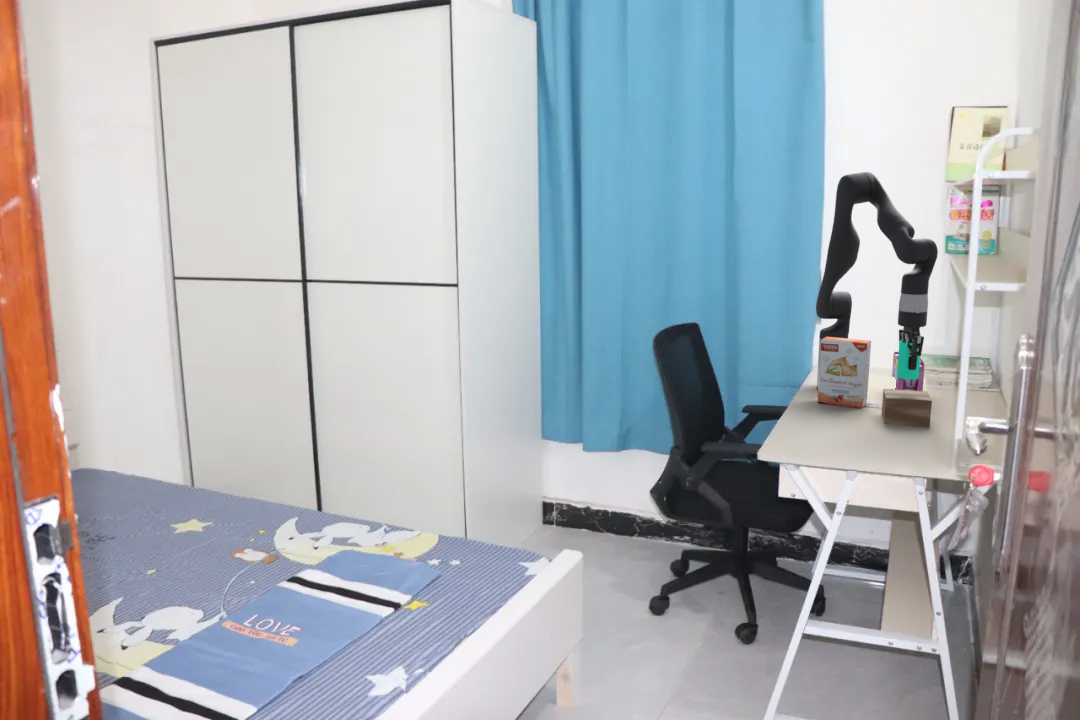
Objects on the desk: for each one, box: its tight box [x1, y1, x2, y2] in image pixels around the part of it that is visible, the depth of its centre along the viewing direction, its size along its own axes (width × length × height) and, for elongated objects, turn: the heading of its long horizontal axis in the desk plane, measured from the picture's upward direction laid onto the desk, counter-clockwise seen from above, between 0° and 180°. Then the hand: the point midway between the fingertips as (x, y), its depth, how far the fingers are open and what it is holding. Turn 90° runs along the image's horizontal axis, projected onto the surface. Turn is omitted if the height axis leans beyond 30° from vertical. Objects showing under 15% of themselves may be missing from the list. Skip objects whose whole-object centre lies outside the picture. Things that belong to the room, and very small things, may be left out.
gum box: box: [891, 351, 925, 391], centre depth 266 cm, size 24×8×14 cm, turn 161°
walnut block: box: [881, 388, 933, 429], centre depth 241 cm, size 12×12×8 cm
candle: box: [897, 340, 921, 379], centre depth 238 cm, size 6×6×12 cm
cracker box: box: [817, 337, 872, 409], centre depth 260 cm, size 14×6×21 cm, turn 56°
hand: (908, 367), depth 239 cm, fingers closed on candle, 5 cm apart
